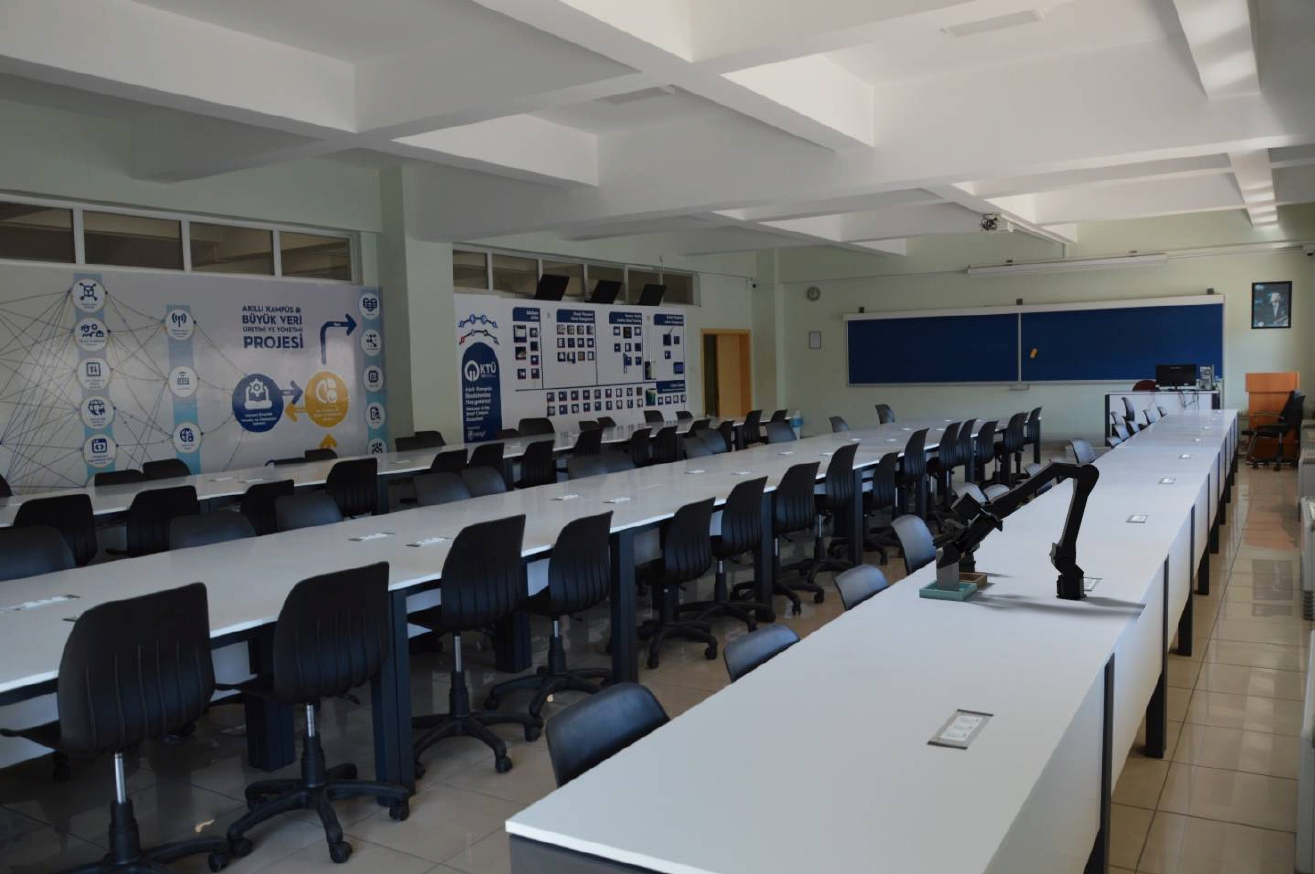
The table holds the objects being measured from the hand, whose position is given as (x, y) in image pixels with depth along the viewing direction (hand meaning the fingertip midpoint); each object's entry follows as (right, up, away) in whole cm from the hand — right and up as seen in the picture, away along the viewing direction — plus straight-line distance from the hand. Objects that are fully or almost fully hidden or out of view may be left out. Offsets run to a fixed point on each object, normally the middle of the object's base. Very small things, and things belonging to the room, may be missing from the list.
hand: (942, 564), depth 294 cm
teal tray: (+2, -9, 0) cm, 9 cm away
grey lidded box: (+2, -8, 0) cm, 8 cm away
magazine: (+13, -6, +30) cm, 34 cm away
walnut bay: (+10, -8, +11) cm, 16 cm away
